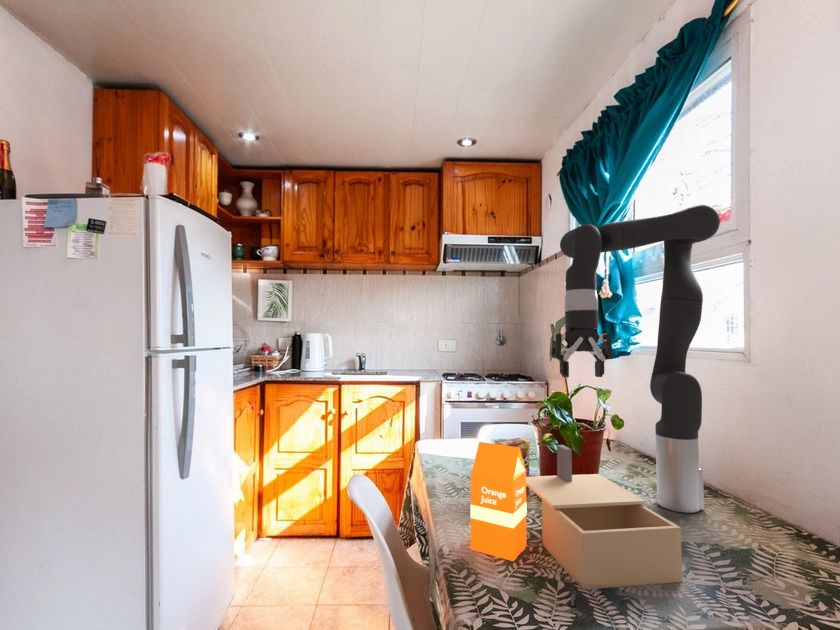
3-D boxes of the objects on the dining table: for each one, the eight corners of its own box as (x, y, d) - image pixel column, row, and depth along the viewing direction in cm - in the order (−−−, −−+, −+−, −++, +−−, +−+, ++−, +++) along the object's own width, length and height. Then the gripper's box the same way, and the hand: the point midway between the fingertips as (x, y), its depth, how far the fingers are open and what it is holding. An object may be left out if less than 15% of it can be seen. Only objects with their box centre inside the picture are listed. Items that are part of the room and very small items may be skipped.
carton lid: (598, 476, 102) (597, 443, 102) (645, 503, 85) (644, 464, 85) (519, 479, 99) (519, 445, 99) (552, 508, 82) (552, 467, 82)
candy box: (505, 508, 106) (504, 444, 107) (492, 502, 110) (492, 441, 111) (530, 500, 111) (530, 440, 112) (518, 495, 115) (517, 436, 116)
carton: (625, 539, 90) (624, 494, 91) (682, 581, 74) (680, 527, 75) (542, 544, 88) (541, 498, 88) (582, 589, 72) (582, 533, 72)
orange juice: (513, 561, 81) (512, 451, 82) (470, 549, 85) (470, 445, 86) (527, 545, 87) (526, 443, 88) (486, 534, 92) (486, 438, 93)
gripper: (600, 310, 110) (601, 375, 109) (546, 309, 108) (547, 375, 107) (617, 308, 103) (618, 378, 102) (560, 307, 101) (561, 378, 100)
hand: (582, 377), depth 104 cm, fingers open, 8 cm apart
